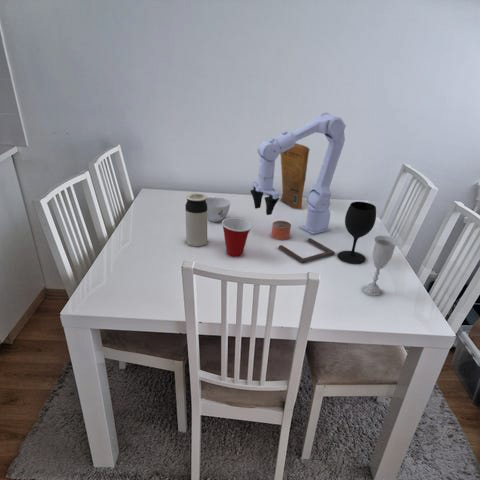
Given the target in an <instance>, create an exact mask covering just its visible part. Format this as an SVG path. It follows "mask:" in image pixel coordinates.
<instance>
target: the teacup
mask: <svg viewBox="0 0 480 480" xmlns="http://www.w3.org/2000/svg"><path fill="white" fill-rule="evenodd" d="M206 203H207V221H209V222H212V223H216V222H222V221H223V220H224V219H225V217H226V216H227V215H228V213H229V210H230V208H231V201H230V200H228V199H226V198H223V197H217V196H215V197H207V198H206Z"/></svg>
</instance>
